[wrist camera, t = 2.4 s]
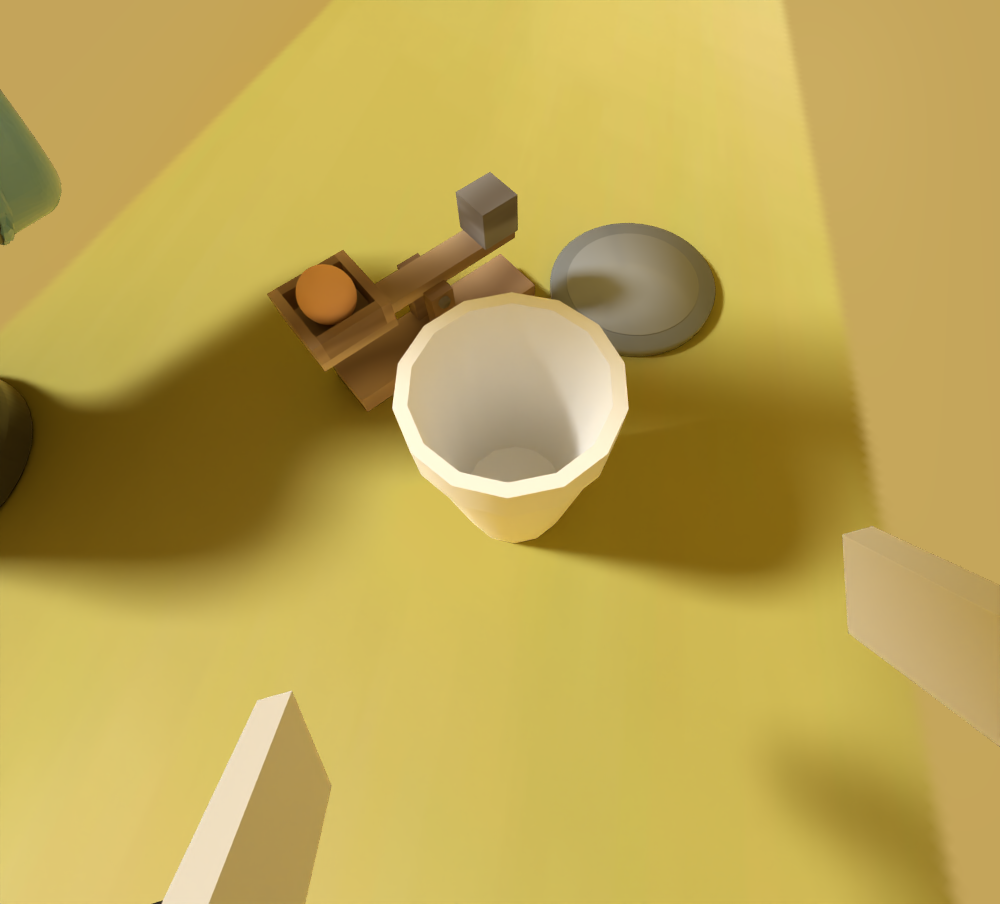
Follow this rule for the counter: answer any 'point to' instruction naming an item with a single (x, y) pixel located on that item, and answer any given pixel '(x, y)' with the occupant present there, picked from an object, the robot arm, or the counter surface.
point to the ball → (326, 294)
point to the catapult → (411, 294)
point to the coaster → (636, 286)
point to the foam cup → (511, 409)
